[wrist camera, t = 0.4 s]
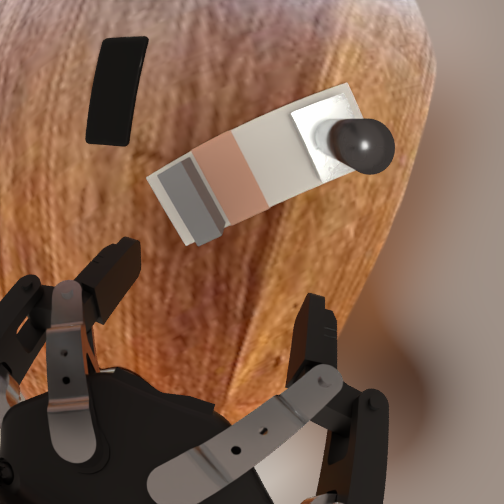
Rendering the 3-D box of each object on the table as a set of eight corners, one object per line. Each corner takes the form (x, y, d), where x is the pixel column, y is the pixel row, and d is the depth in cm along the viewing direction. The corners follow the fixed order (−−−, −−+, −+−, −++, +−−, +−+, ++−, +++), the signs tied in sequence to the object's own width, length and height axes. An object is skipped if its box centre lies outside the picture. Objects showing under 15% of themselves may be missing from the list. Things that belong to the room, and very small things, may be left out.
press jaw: (336, 95, 27) (384, 81, 15) (362, 158, 30) (418, 183, 18) (288, 113, 28) (308, 107, 17) (317, 177, 31) (351, 212, 20)
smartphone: (148, 35, 25) (127, 147, 32) (151, 37, 26) (130, 146, 33) (102, 38, 25) (84, 143, 31) (105, 39, 26) (87, 143, 32)
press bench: (342, 83, 28) (358, 77, 23) (373, 159, 32) (393, 167, 27) (151, 173, 34) (132, 184, 28) (189, 240, 38) (178, 261, 32)
